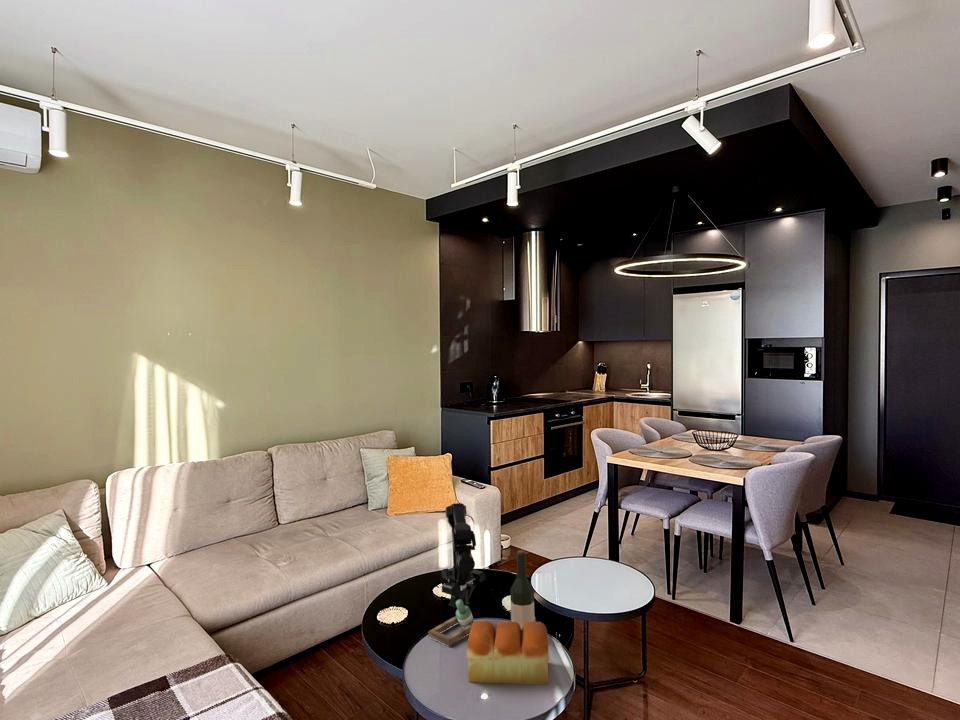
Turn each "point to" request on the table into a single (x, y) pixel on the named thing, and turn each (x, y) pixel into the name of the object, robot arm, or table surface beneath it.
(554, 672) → the table surface
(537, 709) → the table surface
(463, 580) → the robot arm
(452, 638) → the wooden tray
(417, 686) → the table surface
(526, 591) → the wine bottle
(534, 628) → the bread
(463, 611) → the bottle
